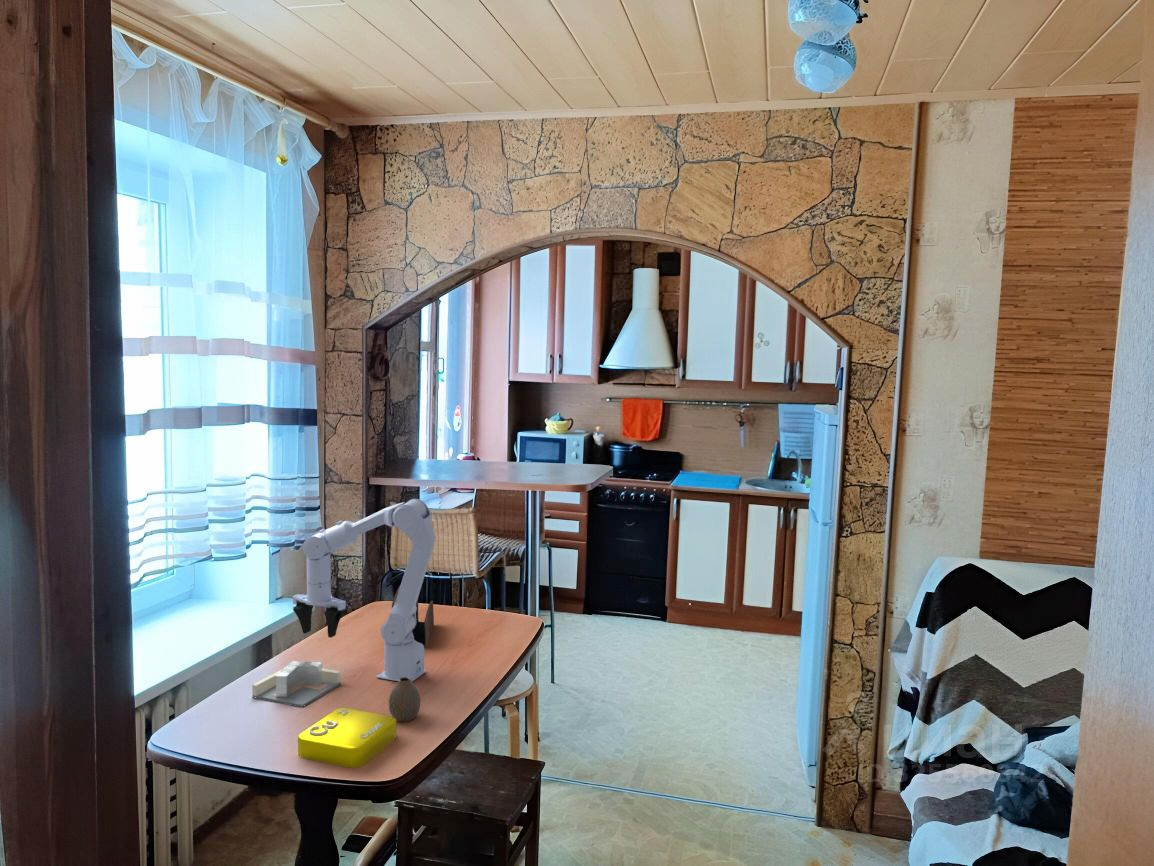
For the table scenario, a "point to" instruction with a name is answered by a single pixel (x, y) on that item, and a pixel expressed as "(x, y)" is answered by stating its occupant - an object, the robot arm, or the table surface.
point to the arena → (296, 689)
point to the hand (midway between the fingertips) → (319, 634)
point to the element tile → (347, 737)
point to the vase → (404, 700)
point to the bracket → (298, 677)
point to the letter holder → (421, 624)
